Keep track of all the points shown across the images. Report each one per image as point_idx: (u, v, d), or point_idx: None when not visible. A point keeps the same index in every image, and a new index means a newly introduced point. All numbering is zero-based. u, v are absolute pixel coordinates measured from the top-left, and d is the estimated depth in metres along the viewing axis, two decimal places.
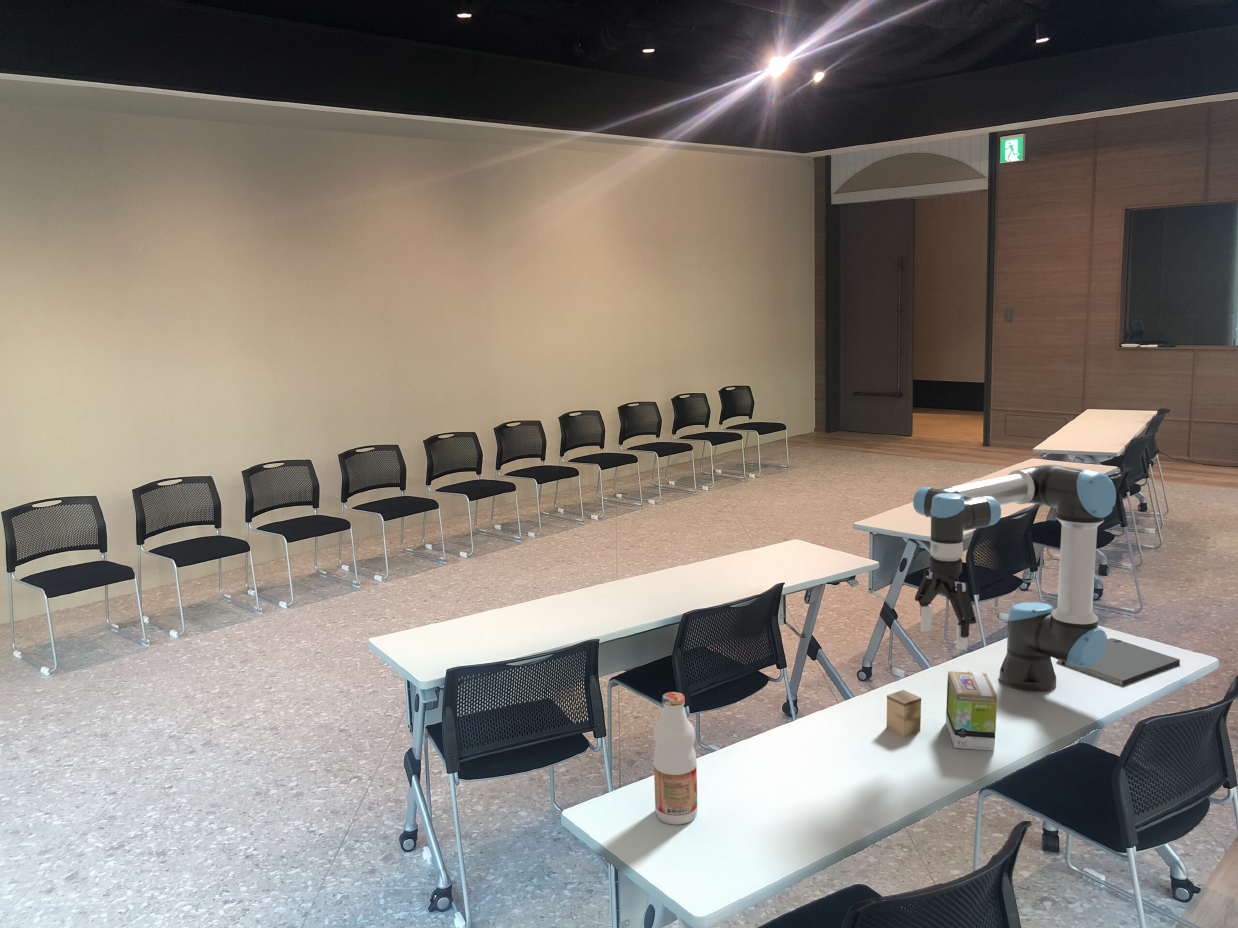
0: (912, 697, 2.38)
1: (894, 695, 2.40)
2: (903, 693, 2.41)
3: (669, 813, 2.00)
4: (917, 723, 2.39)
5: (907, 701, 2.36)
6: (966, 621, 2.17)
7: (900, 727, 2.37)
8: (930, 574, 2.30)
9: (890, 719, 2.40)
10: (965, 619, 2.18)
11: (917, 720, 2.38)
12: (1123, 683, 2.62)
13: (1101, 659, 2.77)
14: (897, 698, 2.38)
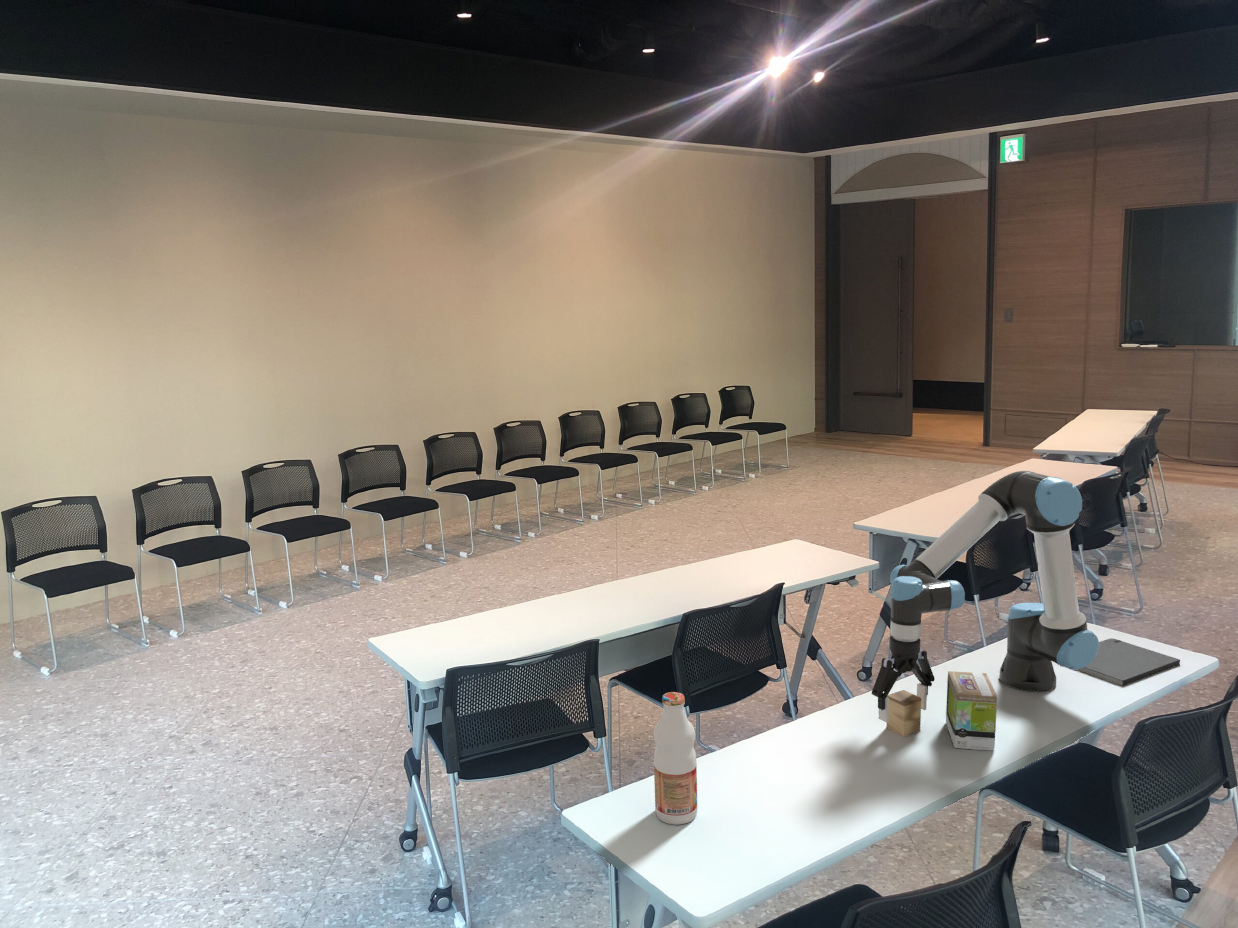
0: (912, 697, 2.38)
1: (894, 695, 2.40)
2: (903, 693, 2.41)
3: (669, 813, 2.00)
4: (917, 722, 2.39)
5: (907, 701, 2.36)
6: None
7: (900, 727, 2.37)
8: None
9: (890, 719, 2.40)
10: None
11: (917, 720, 2.38)
12: (1123, 683, 2.62)
13: (1101, 659, 2.77)
14: (897, 698, 2.38)
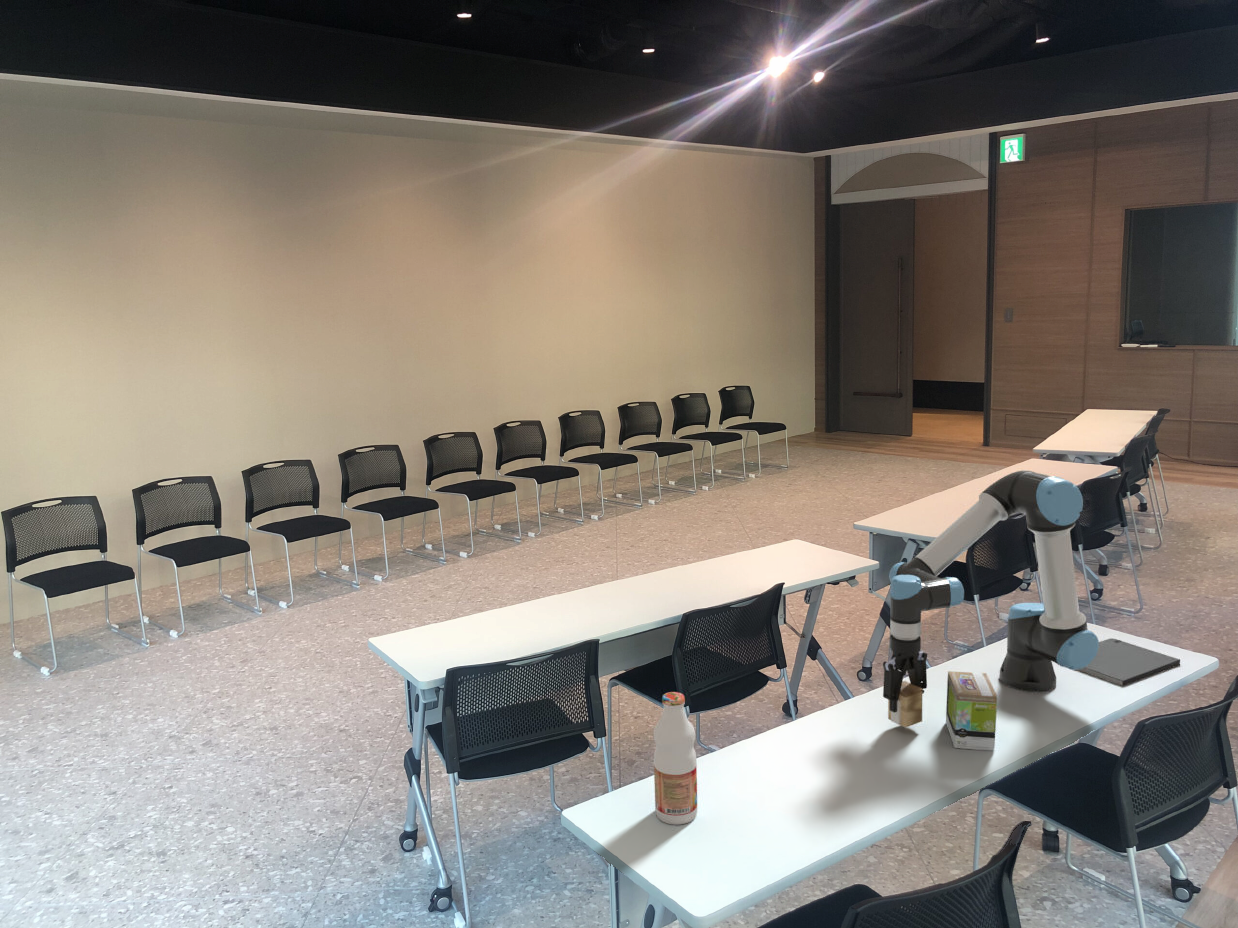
0: (914, 688, 2.38)
1: None
2: (904, 684, 2.41)
3: (669, 813, 2.00)
4: (919, 713, 2.38)
5: (908, 692, 2.36)
6: None
7: (902, 718, 2.37)
8: None
9: None
10: None
11: (919, 711, 2.38)
12: (1123, 683, 2.62)
13: (1101, 659, 2.76)
14: None
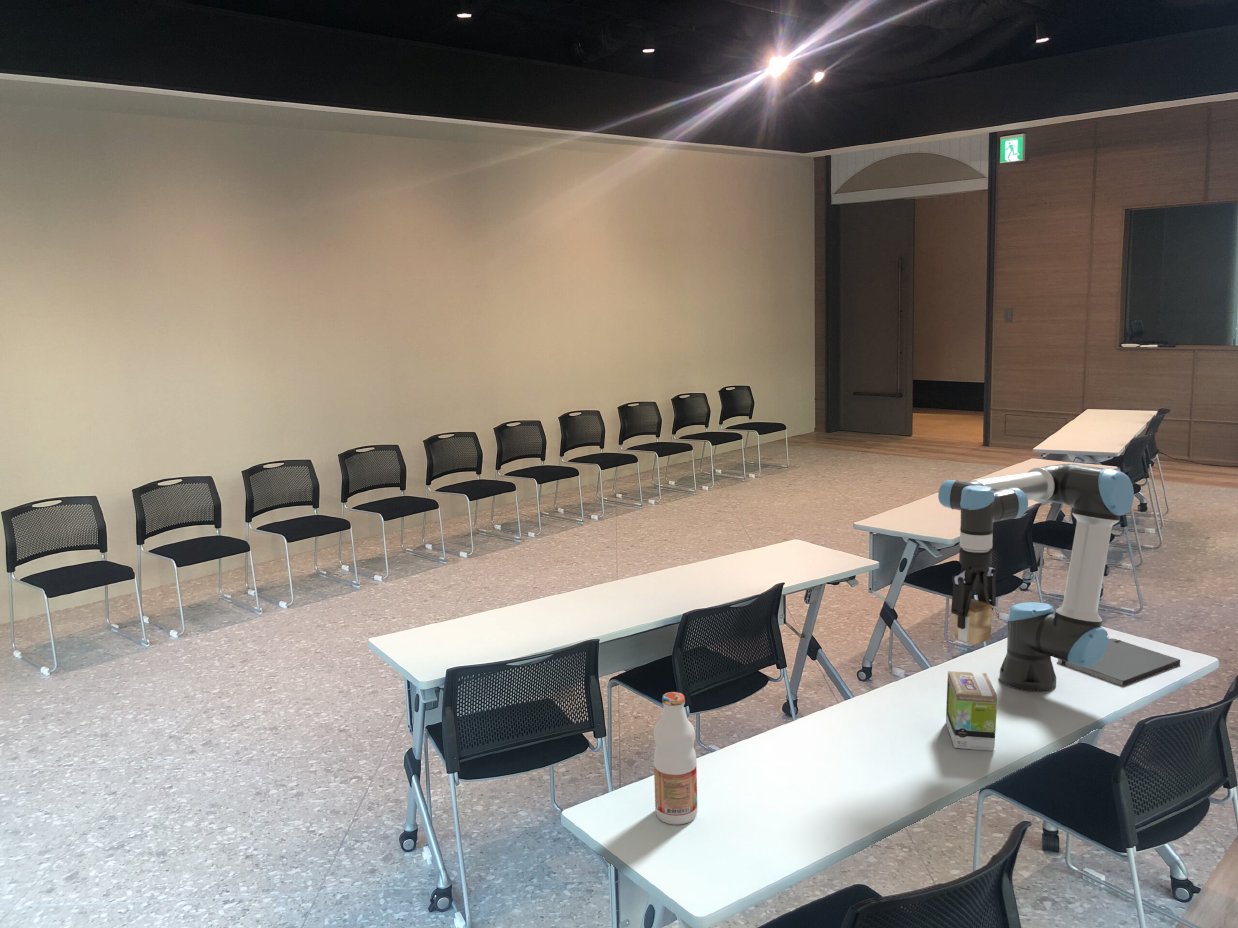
0: (983, 604, 2.29)
1: None
2: (972, 601, 2.31)
3: (669, 813, 2.00)
4: (988, 631, 2.29)
5: (978, 608, 2.26)
6: None
7: (970, 635, 2.28)
8: None
9: None
10: None
11: (988, 628, 2.29)
12: (1123, 683, 2.62)
13: (1101, 659, 2.76)
14: None
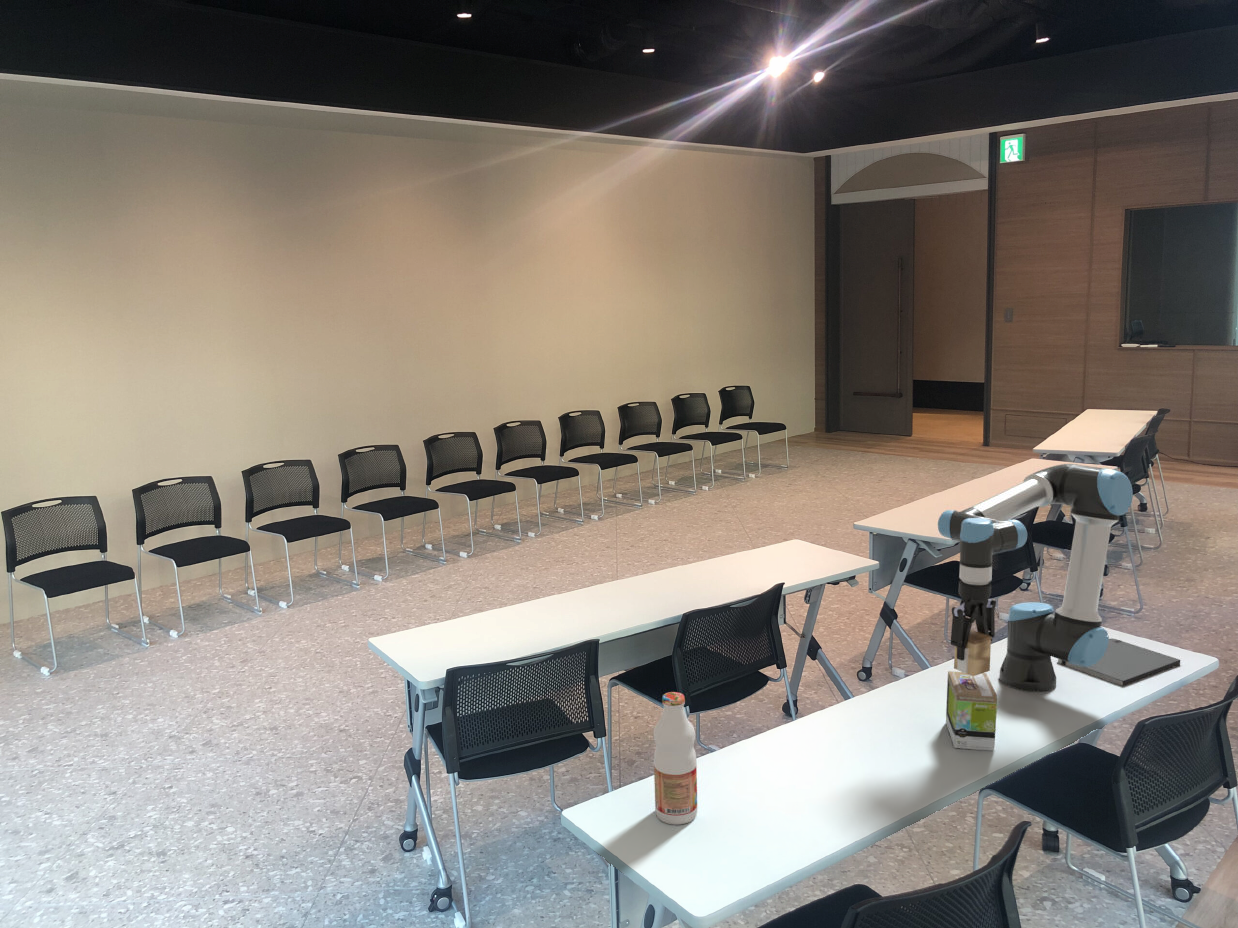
0: (982, 636, 2.30)
1: None
2: (971, 632, 2.33)
3: (669, 813, 2.00)
4: (987, 662, 2.30)
5: (977, 639, 2.28)
6: None
7: (969, 666, 2.29)
8: None
9: None
10: None
11: (987, 660, 2.30)
12: (1123, 683, 2.62)
13: (1101, 659, 2.76)
14: None
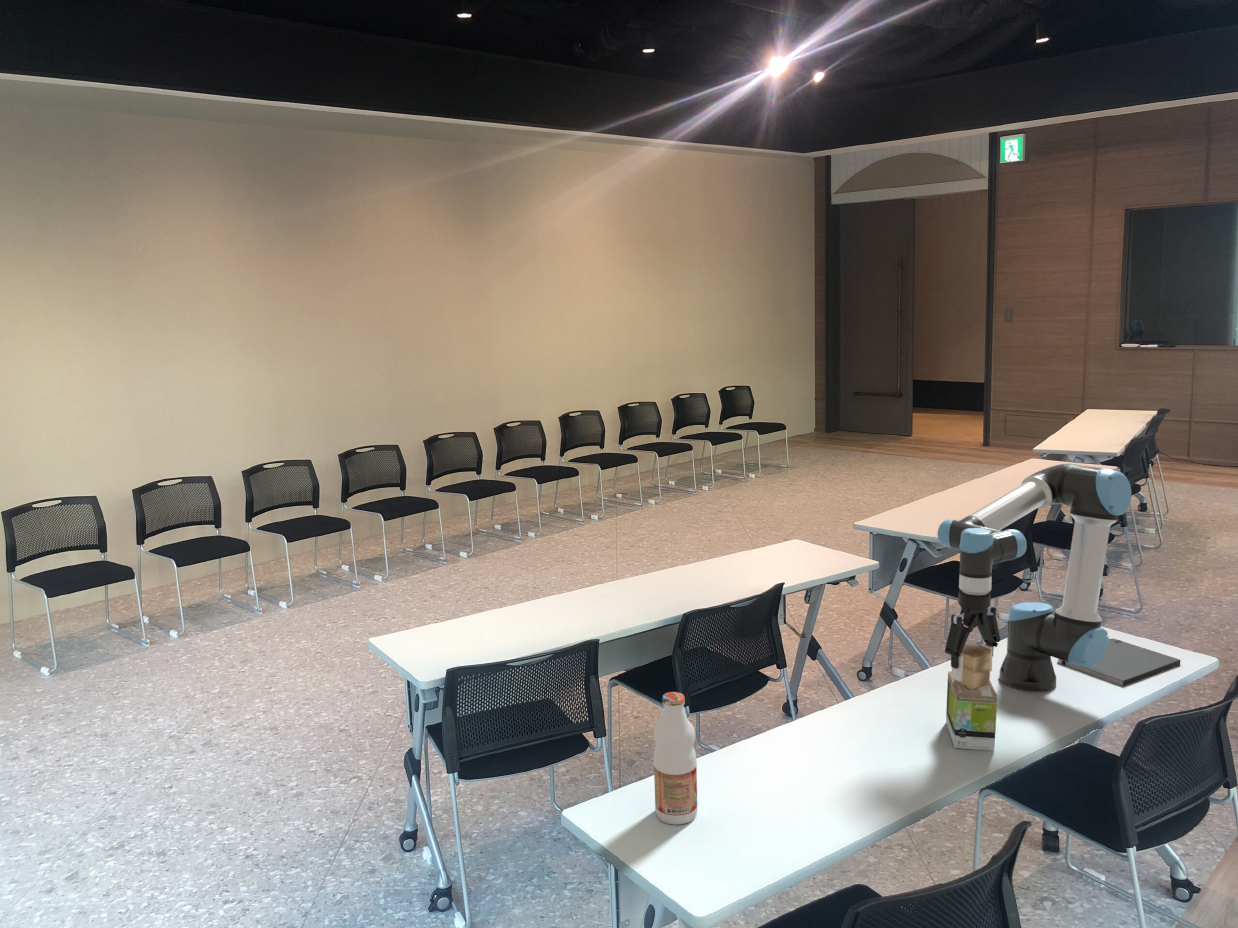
0: (982, 649, 2.31)
1: None
2: (971, 645, 2.33)
3: (669, 813, 2.00)
4: (986, 675, 2.31)
5: (977, 652, 2.28)
6: None
7: (969, 679, 2.30)
8: None
9: None
10: None
11: (986, 672, 2.31)
12: (1123, 683, 2.62)
13: (1101, 659, 2.76)
14: (966, 650, 2.30)
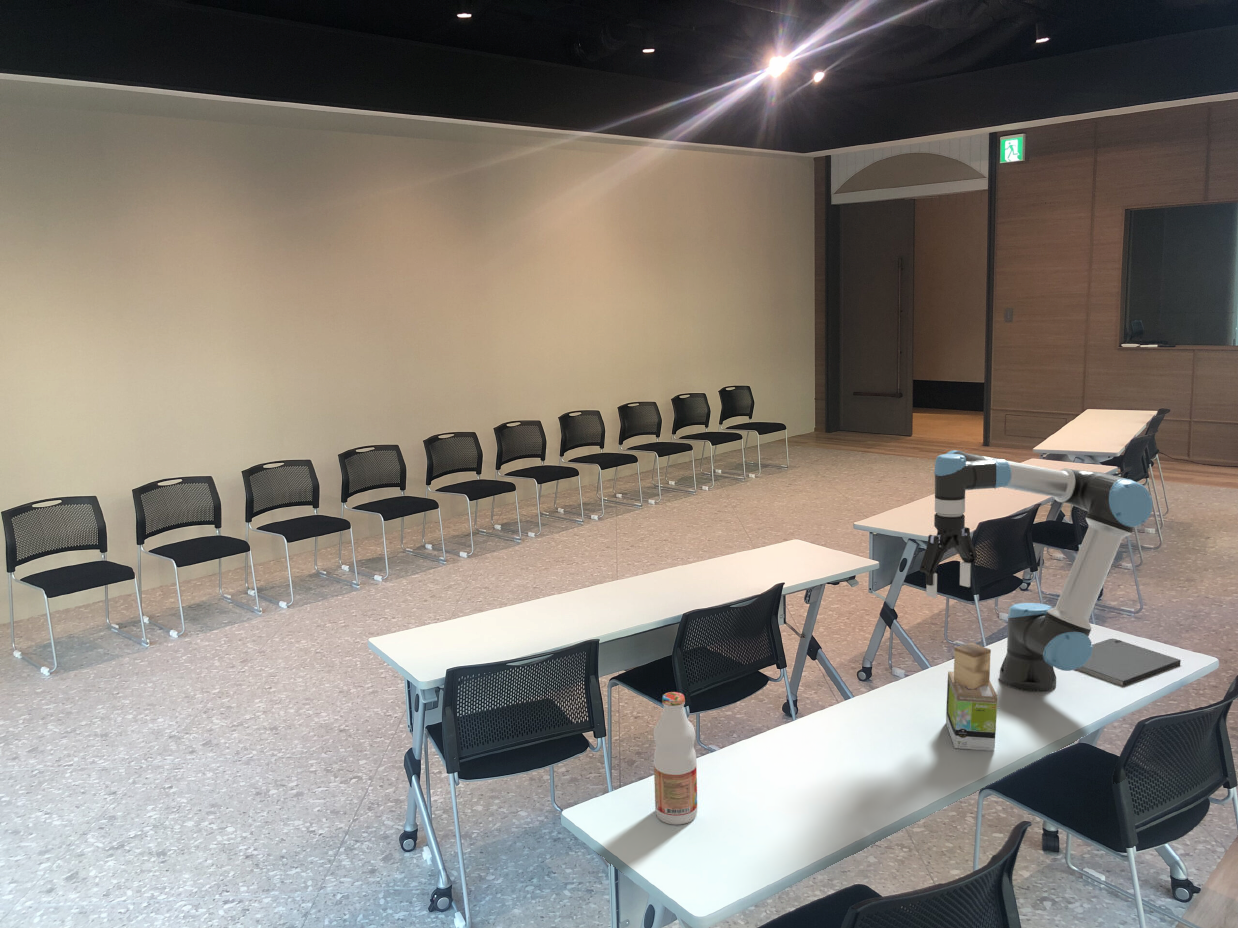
0: (981, 649, 2.31)
1: (962, 647, 2.32)
2: (971, 645, 2.33)
3: (669, 813, 2.00)
4: (986, 675, 2.31)
5: (976, 652, 2.28)
6: None
7: (969, 680, 2.29)
8: None
9: (958, 672, 2.32)
10: None
11: (986, 673, 2.31)
12: (1124, 683, 2.61)
13: (1102, 659, 2.76)
14: (966, 650, 2.30)
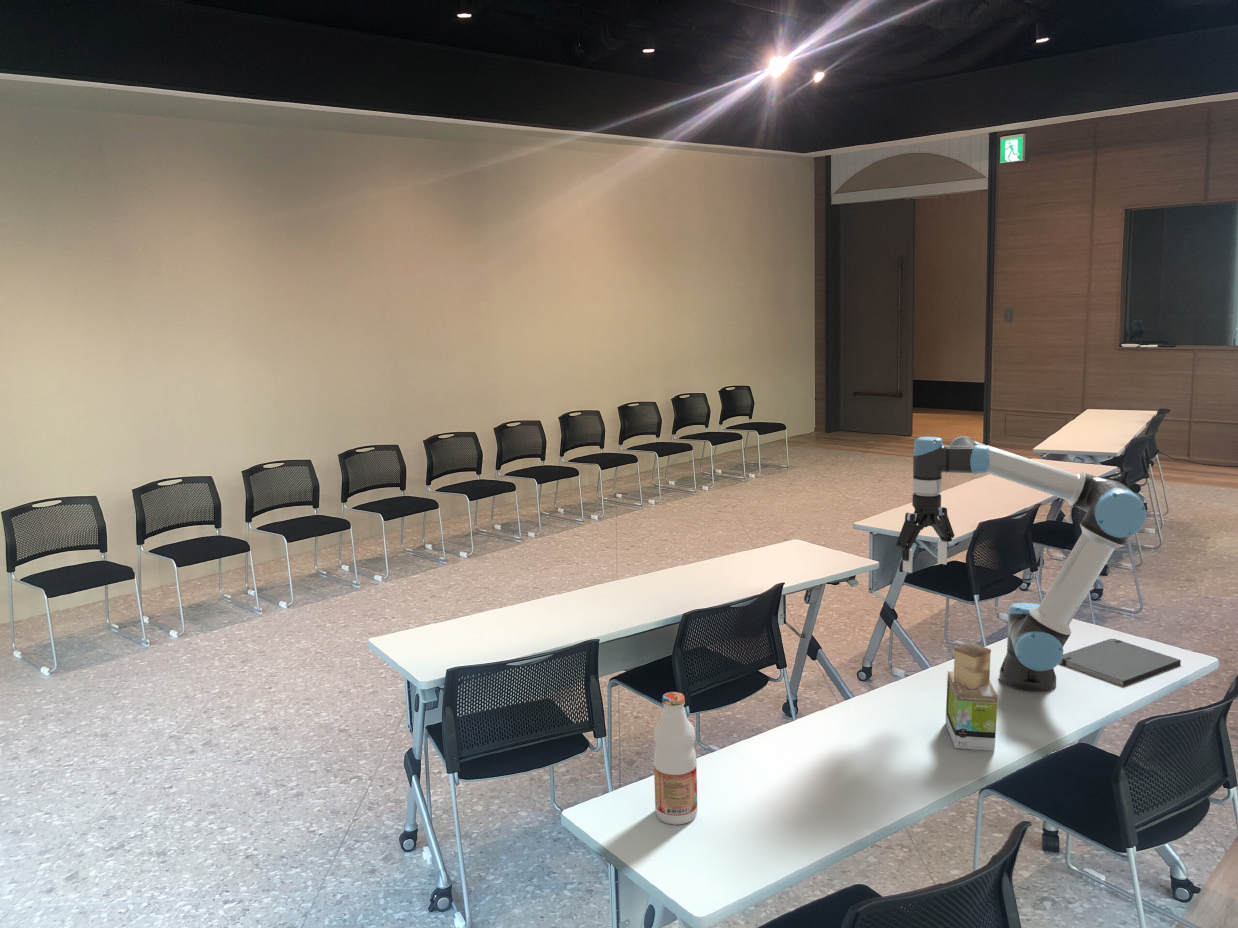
0: (981, 649, 2.31)
1: (962, 647, 2.32)
2: (971, 645, 2.33)
3: (669, 813, 2.00)
4: (986, 675, 2.31)
5: (977, 652, 2.28)
6: None
7: (969, 680, 2.29)
8: None
9: (958, 672, 2.32)
10: None
11: (986, 673, 2.31)
12: (1124, 683, 2.61)
13: (1102, 659, 2.76)
14: (966, 650, 2.30)
